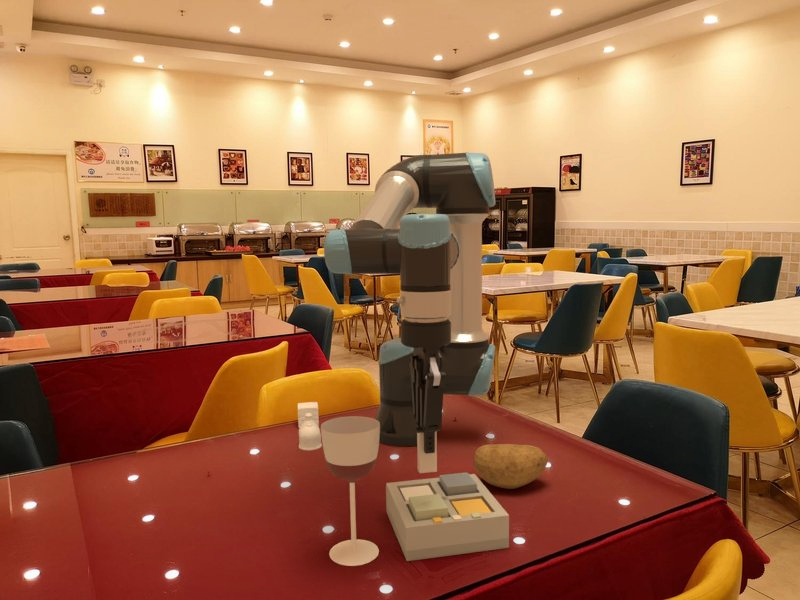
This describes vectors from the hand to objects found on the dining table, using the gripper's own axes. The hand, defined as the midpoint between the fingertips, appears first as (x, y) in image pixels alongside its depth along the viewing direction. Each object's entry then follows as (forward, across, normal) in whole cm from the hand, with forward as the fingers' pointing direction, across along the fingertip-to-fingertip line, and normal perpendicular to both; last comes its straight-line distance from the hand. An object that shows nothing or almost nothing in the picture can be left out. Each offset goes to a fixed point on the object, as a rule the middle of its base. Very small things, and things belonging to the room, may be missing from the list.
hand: (427, 470), depth 92 cm
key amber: (+9, 0, +7) cm, 12 cm away
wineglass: (+12, 0, -12) cm, 17 cm away
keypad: (+12, -4, +4) cm, 13 cm away
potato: (+12, -17, +20) cm, 29 cm away
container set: (+12, -55, -15) cm, 58 cm away
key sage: (+8, 0, 0) cm, 8 cm away
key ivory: (+9, -7, 0) cm, 12 cm away
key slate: (+8, -7, +7) cm, 13 cm away
